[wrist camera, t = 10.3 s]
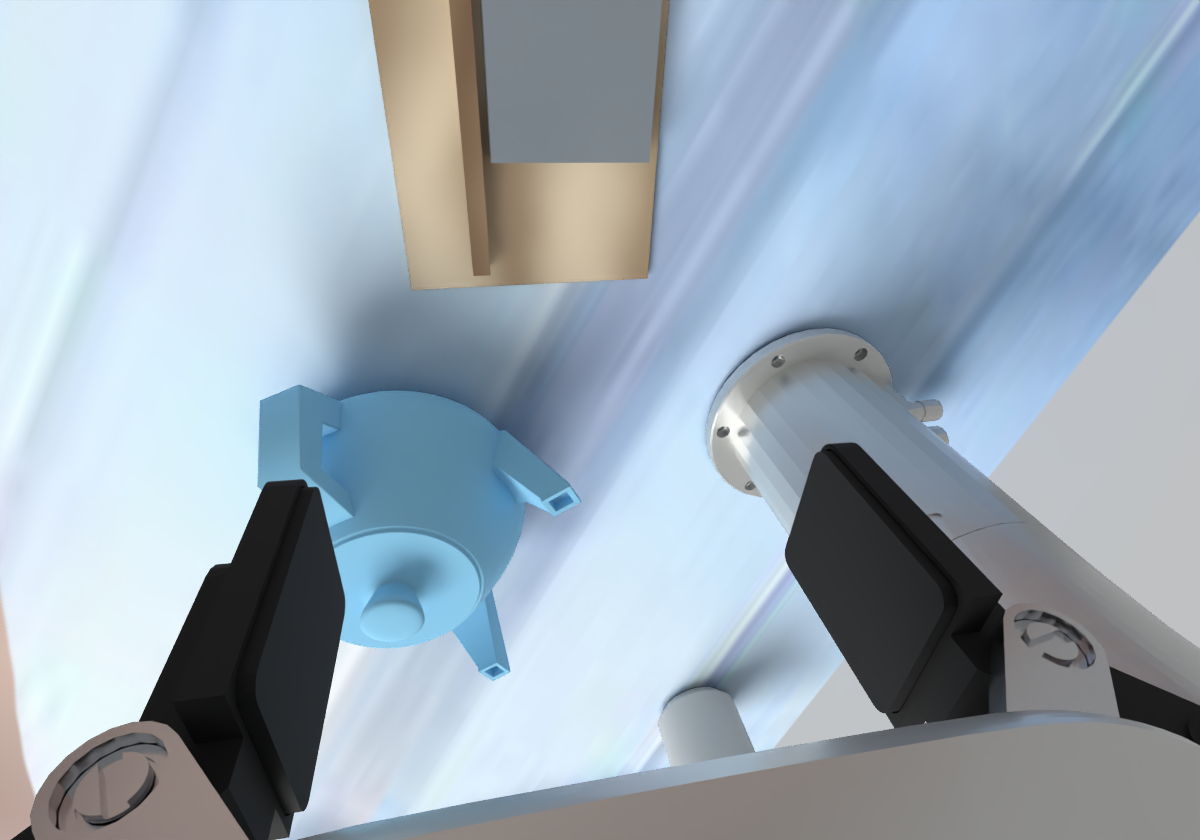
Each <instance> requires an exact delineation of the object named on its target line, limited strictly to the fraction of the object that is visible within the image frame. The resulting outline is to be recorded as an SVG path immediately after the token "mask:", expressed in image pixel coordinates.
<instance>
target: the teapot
mask: <svg viewBox="0 0 1200 840" xmlns="http://www.w3.org/2000/svg"><path fill="white" fill-rule="evenodd" d="M297 479H304V480H305V481H306V483H307V485H308V487H318V488H319V490H320V493H321V498H322V502H323V506H324V510H325V514H326V518H327V523H328V527H329V531H330V535H331V539H332V544H333V548H334V552H335V556H336V560H337V564H338V569H339V573H340V577H341V581H342V585H343V589H344V594H345V615H344V621H343V626H342V631H341V636H340V640H342V641H345V642H348V643H351V644H355V645H359V646H364V647H372V648H399V647H406V646H411V645H416V644H420V643H423V642H426V641H429V640H432V639H434V638H437V637H439V636H441V635H443V634H445V633H447V632H449V631H451V630H452V631H453V633H454V634H455V635H456V637H457V638H458V640H459V641H460V643H461V644H462V645H463V647H464V648H465V650H466V651H467V652H468V654H469V655H470V657H471V658H472V660H473V661H474V662H475V664H476V665H477V667H478V670H479V672H480V673H481V674H483V675H484V676H486V677H487V678H489V679H490V680H492V681H494V680H496V679H498V678H500V677H502V676H504V675H506V674H508V673H509V672H510V667H509V663H508V658H507V654H506V649H505V645H504V641H503V636H502V632H501V628H500V623H499V619H498V614H497V610H496V606H495V601H494V597H493V593H492V588H493V587H494V586H495V584H496V583H497V581H498V580H499V579H500V577H501V576H502V574H503V572H504V571H505V569H506V567H507V565H508V564H509V562H510V560H511V558H512V556H513V553H514V551H515V548H516V546H517V543H518V540H519V537H520V534H521V529H522V524H523V519H524V513H525V502H528V503H530V504H532V505H534V506H537V507H539V508H541V509H543V510H545V511H547V512H549V513H550V514H551V515H552V516H553V517H555V516H557V515H559V514H560V513H562V512H564V511H566V510H568V509H569V508H571V507H573V506H575V505H577V504H578V503H580V502H581V500H580V498H579V496H578V495H577V494H576V492H575V491H574V490H573V488H572V487H571V485H570V484H569V483H568V482H567V481H566V480H565V479H563V478H562V477H561V476H560V475H559V474H557V473H556V472H555V471H554V470H553V469H551V468H550V467H549V466H548V465H547V464H546V463H544V462H543V461H542V460H541V459H540V458H538V457H537V456H536V455H535V454H534V453H532V452H531V451H530V450H529V449H528V448H526V447H525V446H524V445H523V444H522V443H520V442H519V441H518V440H517V439H516V438H514V437H513V436H512V435H511V434H510V433H508V432H507V431H506V430H505V429H504V430H501V431H499V430H498V429H497V428H496V427H495V426H494V425H493V424H492V423H490V422H489V421H488V420H487V419H485V418H484V417H483V416H481V415H480V414H479V413H477V412H475V411H474V410H472V409H470V408H468V407H466V406H465V405H463V404H460V403H458V402H455V401H453V400H450V399H448V398H444V397H441V396H437V395H433V394H428V393H422V392H416V391H400V390H395V391H378V392H372V393H366V394H360V395H357V396H353V397H350V398H346V399H343V400H341V401H338V400H336V399H333V398H331V397H329V396H326V395H324V394H321V393H319V392H316V391H314V390H312V389H309V388H307V387H304V386H302V385H297V386H295V387H292V388H290V389H287V390H285V391H282V392H280V393H278V394H275V395H273V396H270V397H268V398H265V399H263V400H261V401H260V420H259V453H258V487H259V488H260V489H261V490H262V489H263V487H264V485H265V483H267V482H268V481H282V480H297Z"/></svg>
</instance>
